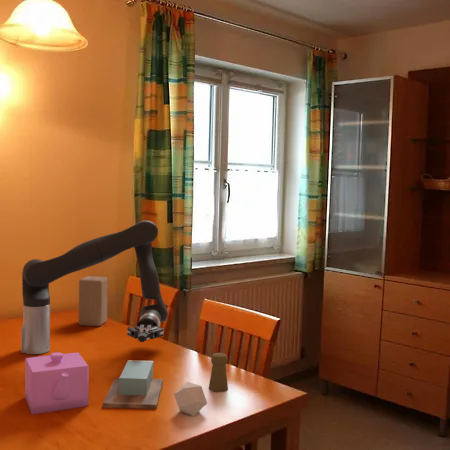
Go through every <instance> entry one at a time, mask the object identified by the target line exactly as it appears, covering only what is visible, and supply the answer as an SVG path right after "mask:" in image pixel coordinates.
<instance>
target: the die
mask: <svg viewBox="0 0 450 450" xmlns="http://www.w3.org/2000/svg"><path fill="white" fill-rule="evenodd" d="M173 395H174V398H175V401H176V404H177V407H178V411H179V412H181V413H183V414H186V415H190V416H192V417H195V416H196V414H198V413H199V412H200V411H201V410H202V409H203V408H204V407H205V406H206V405H207V404H208V401H207V397H206V395H205V393H204V390H203V387H202V385H199V384H196V383H194V382H189V381H187V382H186V383H184V384H183V385H182V386H181V387H179V389H178V390H177V391H175V392H174V393H173Z"/></svg>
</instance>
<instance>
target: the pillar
mask: <svg viewBox="0 0 450 450" xmlns="http://www.w3.org/2000/svg"><path fill="white" fill-rule="evenodd" d="M153 377H154V360H136V359H135V360H131V359H130V360H129V359H127V362H126V364H125V366H124V368H123V370H122V372H121V374H120V376H119V377H118V378H119V395H144V396H147V393H148V390H149V387H150V384H151V381H152V379H154V378H153Z"/></svg>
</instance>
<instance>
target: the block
mask: <svg viewBox="0 0 450 450" xmlns="http://www.w3.org/2000/svg"><path fill="white" fill-rule="evenodd" d="M108 285H109V284H108V277H106V276H95V275H93V276H92V275H87V276H85V277H82V278H81V279H79V281H78V325H80V326H84V327H85V326H89V327H101V326H102V325H104V324H105V323H106V322H107V320H108V293H109V292H108V291H109V290H108V288H109V286H108Z"/></svg>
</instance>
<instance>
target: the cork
mask: <svg viewBox="0 0 450 450" xmlns="http://www.w3.org/2000/svg"><path fill="white" fill-rule="evenodd" d="M228 358H229V357H228V356H227V354H226V353H223V352H216V353H213V354H212V355H211V357H210V362H211V364H212V366H211V373H210V378H209V385H208V390H209V391H211V392H214V393H225V392H227V391H228V390H229V386H228V385H229V384H228V376H227V373H228V372H227V366H226V365H227V364H228V360H229V359H228Z"/></svg>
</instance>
